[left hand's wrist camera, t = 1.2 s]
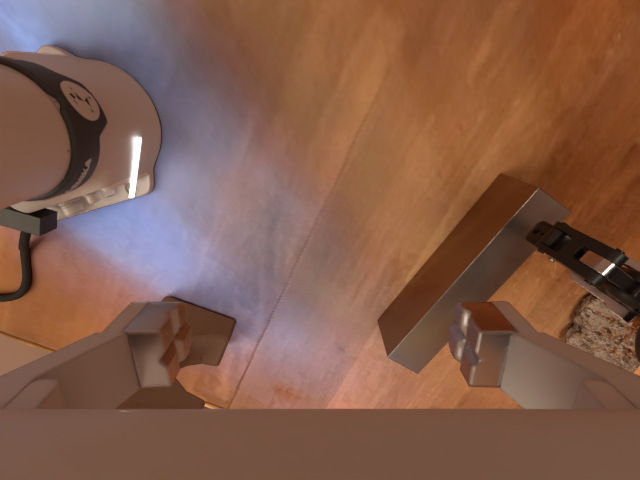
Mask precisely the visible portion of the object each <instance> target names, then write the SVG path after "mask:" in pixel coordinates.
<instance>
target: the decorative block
mask: <svg viewBox="0 0 640 480" xmlns="http://www.w3.org/2000/svg"><path fill="white" fill-rule="evenodd" d="M161 302H183V301H180V300H177V299H174V298H171V297H168V296H167V297H165V298H164V299H163V300H162V301H161ZM184 303H185V302H184ZM185 304H186V305H187V310H188V316H187V318H186V320H185V322H186V323H187V324H188V325H189V326H190V327H191V333H192V342H191V347H190V351H189V353H188V355H187V357H186V359H184V360H183V361H181V362H180V363H179V366H180V369H181V368H183V367H185V366H189V365H196V364H206V365H212V366H218V365H219V364H220V361H221V359H222V357H223V354H224V352H225V349H226V347H227V345H228V342H229V340H230V337H231V335H232V332H233V329H234V327H235V324H236V322H235V320H233V319H230V318H228V317H225V316H222V315H219V314H216V313H214V312H211V311H208V310H205V309H202V308H200V307H197V306H194V305H191V304H188V303H185ZM204 405H205V403H204V400H203V399H201V398H199V397H197V396H195V395H193V394H191V393H189V392H187V391H186V390H185V389H184V388H183V386H182V385H181V384H180V383H179V381H178V380H177V379H176V378H175V380H174V382H173V384H172V386H171V387H144V388H140V390H138V391H137V392H136V393H135V394H133V395H132V396H131V397H129V398H128V399H127V400H126V401H124V402H123V403H122V404H121V405H119V406H118V407H117V408H116V409H203V408H204Z"/></svg>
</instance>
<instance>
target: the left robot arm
mask: <svg viewBox="0 0 640 480" xmlns="http://www.w3.org/2000/svg"><path fill="white" fill-rule="evenodd" d="M160 145H161V127H160V122H159V118H158V115H157V112H156V109H155V107H154V105H153V103H152V101H151V99H150V98H149V96H148V95H147V93H146V92H145V90H144V89H143V88H142V87H141V86H140V84H139V83H138V82H137V81H136V80H135V79H133V78H132V77H131V76H130V75H129V74H127V73H126V72H124V71H123V70H121V69H119V68H118V67H116V66H114V65H111V64H109V63H106V62H103V61H98V60H92V59H84V58H79V57H76V56H74V55H72V54H71V53H69V52H67V51H65V50H63V49H61V48H59V47H57V46H51V45H44V46H42V47H41V48H39V50H38V51H37V52H36V53H34V52H18V51H6V52H3V53H2V54H1V56H0V225H2V226H5V227H9V228H13V229H16V230H20V231H21V234H20V240H19V250H20V256H21V264H22V283H21V286H20V288H19V290H18V291H16V292H15V293H13V294H8V295H0V302H5V301H12V300H16V299H18V298H20V297H22V296H23V295H24V294H25V293H26V292H27V290H28V289H29V287H30V284H31V277H32V271H31V261H30V248H29V242H30V237H31V234H34V235H38V236H41V235H43V234H45V233H47V232H50V231H52V230H54V229H56V228H57V221H58V220H61V219H65V218H68V217H72V216H75V215H78V214H82V213H85V212H89V211H92V210H95V209H99V208H102V207H106V206H109V205H112V204H116V203H119V202H122V201H126V200H129V199H133V198H136V197H139V196H143V195H146V194H149V193H151V192H152V190H153V188H154V172H153V168H154V164H155V161H156V159H157V156H158V153H159V150H160ZM135 187H136V190H135ZM187 316H188V310H187V305H186V304H185V303H184V302H150V301H136V302H131V303H130V304H129V305H128V306H127V307H126V308H125V309H124V310H123V311H122V312H121V313H120V314H119V315H118V316H117V317H116V319H115V320H114V321H113V322H112V323H111V324H110V325H109V326H108V327H107V328H106V329H105V330H104V331H103V332H102V333H94V334H92V335H90V336H88V337H86V338H83V339H81V340H79V341H77V342H75V343H72V344H70V345H68V346H66V347H64V348H61V349H59V350H57V351H55V352H52V353H50V354H48V355H46V356H44V357H41V358H39V359H37V360H35V361H33V362H30V363H28V364H26V365H24V366H21V367H19V368H17V369H15V370H13V371H10V372H8V373H6V374H4V375H2V376H0V480H640V376H638V375H636V374H634V373H632V372H629V371H627V370H625V369H623V368H621V367H618V366H616V365H614V364H612V363H610V362H607V361H605V360H603V359H601V358H598V357H596V356H594V355H592V354H590V353H587V352H585V351H583V350H581V349H579V348H576V347H574V346H572V345H570V344H568V343H565V342H563V341H561V340H559V339H557V338H554V337H552V336H550V335H548V334H546V333H538V332H537V331H536V330H535V329H534V328H533V327H532V326H531V325H530V324H529V323H528V322H527V320H526V319H525V318H524V317H523V316H522V315H521V314H520V313H519V312H518V311H517V310H516V309H515V308H514V307H513V306H512V305H511V304H510V303H509V302H506V301H496V302H460V303H455V304H454V306H453V309H452V316H453V318H454V320H455V322H454V323H453V324H452V325H451V326H450V327H449V335H448V340H449V347H450V351H451V353H452V355H453V357H454V359H456V360H457V361H459V362H460V363H461V366H460V371H461V372H462V374H463V376H464V378H465V380H466V382H467V384H468V385H469V387H496V388H500V389H501V390H502V391H503V392H504V393H506V394H507V395H508V396H509V397H511V398H512V399H513V400H514V401H516V402H517V403H518V404H519V405H521V406H522V407H523V408H525V409H116V408H117V407H118V406H119V405H121V404H122V403H123V402H124V401H126V400H127V399H128V398H129V397H131V396H132V395H133V394H135V393H136V392H137V391H138V390H140V388H144V387H171V386H172V384H173V382H174V380H175V378H176V376H177V374H178V372H179V371H180V366H179V363H180V362H181V361H183V360H184V359H186V357H187V355H188V353H189V351H190V347H191V342H192V333H191V327H190V326H189V325H188V324H187V323H186V322H185V320H186V318H187Z"/></svg>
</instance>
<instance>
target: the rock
mask: <svg viewBox="0 0 640 480" xmlns="http://www.w3.org/2000/svg"><path fill="white" fill-rule="evenodd" d="M573 322H574V323H575V325H573V327H571V328H569V329H568V330H567V332H566V335H565V343H568V344H570V345H572V346H574V347H576V348H579V349H581V350H583V351H585V352H587V353H590V354H592V355H594V356H596V357H598V358H601V359H603V360H605V361H607V362H610V363H612V364H614V365H616V366H618V367H621V368H623V369H625V370H627V371H629V372H632V373H633V372H634V371H635V370H637V368H638V366H639V365H640V363H639V361H638V359H637V357H636V354H635V337H636V333H637V331H638V330H637V329H636V328H634V327H633V326H632V323H633V322H631V323H630V324H628V323H627V322H626V321H624V320H623V319H621V318H620V317H618V316H617V315H615V314H614V313H613V312H611V311H610V310H608V309H607V307H606V304H605V303H604V302H603V301H602V300H600V299H599V298H597V297H596V296H594V295H593V294H590V295H589V296H587V297H585V298H583V299H582V301H581V304H580V305H579V306H578V307H577V309H576V310H575V315H574V316H573Z"/></svg>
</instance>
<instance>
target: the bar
mask: <svg viewBox="0 0 640 480" xmlns="http://www.w3.org/2000/svg"><path fill="white" fill-rule="evenodd" d="M570 213H571V211H569V210H568V209H567V208H565V207H564V206H563V205H561V204H560V203H559V202H557V201H556V200H555V199H553V198H552V197H551V196H550V195H548V194H547V193H546V192H544V191H543V190H542V189H540V188H539V187H536V186H533V185H531V184H528V183H525V182H523V181H520V180H517V179H514V178H512V177H509V176H506V175H504V174H500V175H499V176H498V177H497V178H496V179H495V181H494V182H493V183H492V184H491V185H490V187H489V188H488V189H487V190H486V191H485V193H484V194H483V195H482V196H481V197H480V199H479V200H478V201H477V202H476V203H475V204H474V206H473V207H472V208H471V209H470V210H469V212H468V213H467V214H466V215H465V216H464V218H463V219H462V220H461V221H460V222H459V224H458V225H457V226H456V227H455V228H454V230H453V231H452V232H451V233H450V234H449V236H448V237H447V238H446V239H445V240H444V242H443V243H442V244H441V245H440V246H439V247H438V249H437V250H436V251H435V252H434V253H433V255H432V256H431V257H430V258H429V259H428V261H427V262H426V263H425V264H424V265H423V267H422V268H421V269H420V270H419V271H418V273H417V274H416V275H415V276H414V277H413V279H412V280H411V281H410V282H409V283H408V285H407V286H406V287H405V288H404V289H403V290H402V292H401V293H400V294H399V295H398V296H397V298H396V299H395V300H394V301H393V302H392V304H391V305H390V306H389V307H388V308H387V310H386V311H385V312H384V313H383V314H382V316H381V317H380V318H379V319H378V324H379V328H380V331H381V335H382V339H383V342H384V346H385V350H386V353H387V357H388V358H390V359H392V360H393V361H395V362H397V363H399V364H401V365H402V366H404V367H406V368H408V369H410V370H412V371H413V372H415V373H417V374H418V373H419V372H420V371H421V370H422V369H423V368H424V367H425V366H426V365H427V364H428V363H429V361H430V360H431V359H432V358H433V357H434V356H435V355H436V354H437V353H438V352H439V351H440V350H441V349H442V348H443V347H444V346H445V345H446V344H447V343H448V341H449V340H448V335H449V327H450V326H451V325H452V324H453V323H454V322H455V320H454V318H453V316H452V309H453V306H454V304H455V303H460V302H486V301H487V300H488V299H489V298H490V297H491V296H492V295H493V294H494V293H495V292H496V291H497V290H498V289H499V288H500V287H501V286H502V285H503V284H504V283H505V282H506V280H507V279H508V278H509V277H510V276H511V275H512V274H513V273H514V272H515V271H516V270H517V269H518V268H519V267H520V266H521V265H522V264H523V263H524V262H525V260H526V259H527V258H528V257H529V256H530V255H531V254H532V253H533V252H534V251H535V250H536V249H537V247H535V246H534V245H532V244H531V243H529V242H528V241H527V240H526V236H527V234H528V233H529V232H530V231H531V230H532V229H533V228H534V226H535V225H536V224H537V223H538V222H541V221H545V222H547V223H549V224H551V225H554V224H555V223H556V222H557V221H559V222H561V223H562V222H563V220H564V219H565V218H566V217H567V216H568V215H569V214H570Z"/></svg>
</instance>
